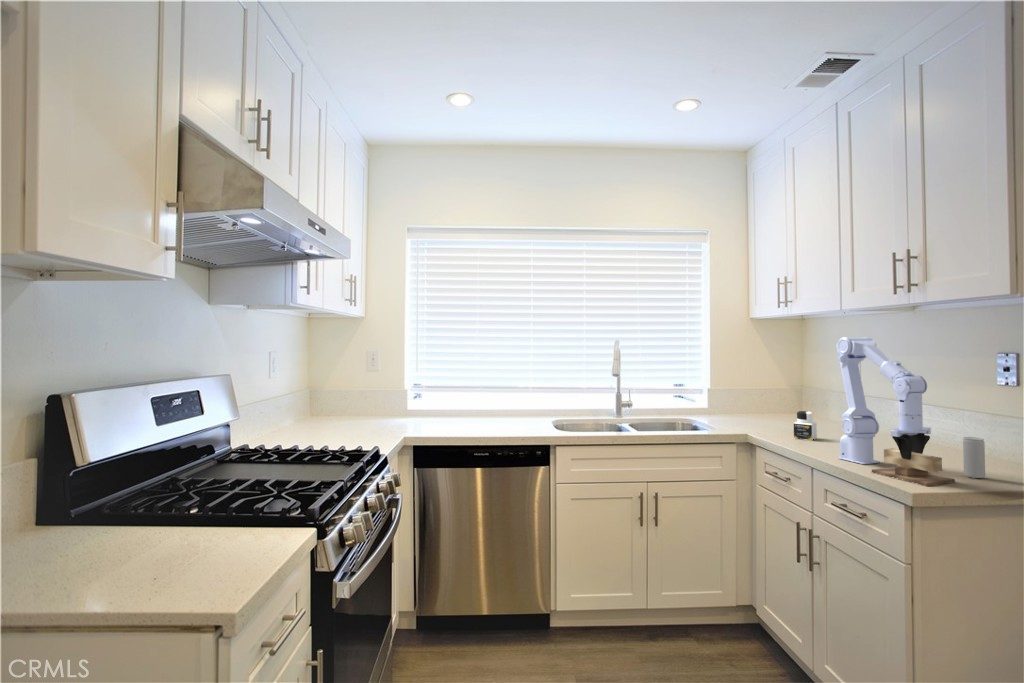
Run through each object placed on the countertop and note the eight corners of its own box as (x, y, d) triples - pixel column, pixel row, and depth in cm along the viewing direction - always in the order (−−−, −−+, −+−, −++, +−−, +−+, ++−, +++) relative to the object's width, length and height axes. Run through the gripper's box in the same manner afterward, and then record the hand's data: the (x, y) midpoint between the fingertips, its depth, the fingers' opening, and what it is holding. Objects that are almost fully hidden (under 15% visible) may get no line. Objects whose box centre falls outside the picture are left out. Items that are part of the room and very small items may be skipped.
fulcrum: (871, 472, 156) (871, 461, 156) (898, 469, 159) (898, 458, 159) (926, 486, 141) (926, 474, 141) (955, 482, 144) (954, 470, 144)
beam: (884, 461, 156) (883, 449, 156) (893, 460, 157) (892, 448, 157) (932, 472, 143) (932, 458, 143) (942, 471, 144) (941, 457, 144)
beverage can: (978, 479, 146) (977, 440, 147) (959, 475, 151) (959, 437, 151) (989, 478, 148) (988, 439, 148) (970, 474, 152) (969, 436, 152)
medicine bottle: (793, 438, 212) (793, 411, 212) (798, 436, 217) (798, 409, 217) (812, 441, 207) (811, 413, 207) (817, 438, 212) (816, 411, 212)
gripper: (907, 417, 144) (908, 463, 144) (941, 415, 148) (942, 459, 148) (883, 414, 151) (884, 457, 151) (916, 412, 155) (917, 454, 155)
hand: (911, 458), depth 150 cm, fingers closed on beam, 4 cm apart
